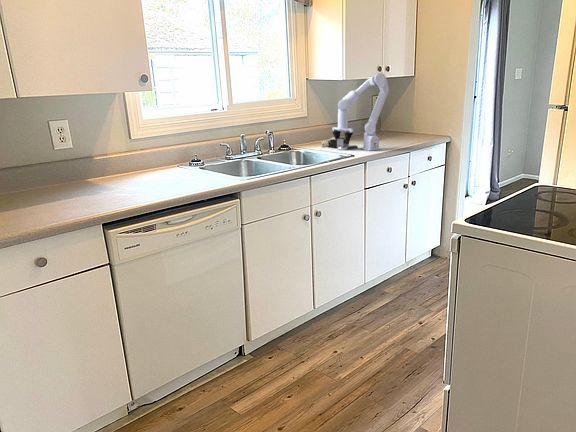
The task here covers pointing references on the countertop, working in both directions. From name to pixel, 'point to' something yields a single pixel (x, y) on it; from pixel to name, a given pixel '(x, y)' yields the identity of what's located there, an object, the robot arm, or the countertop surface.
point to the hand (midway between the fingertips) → (342, 143)
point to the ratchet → (348, 147)
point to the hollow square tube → (342, 143)
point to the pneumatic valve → (330, 143)
